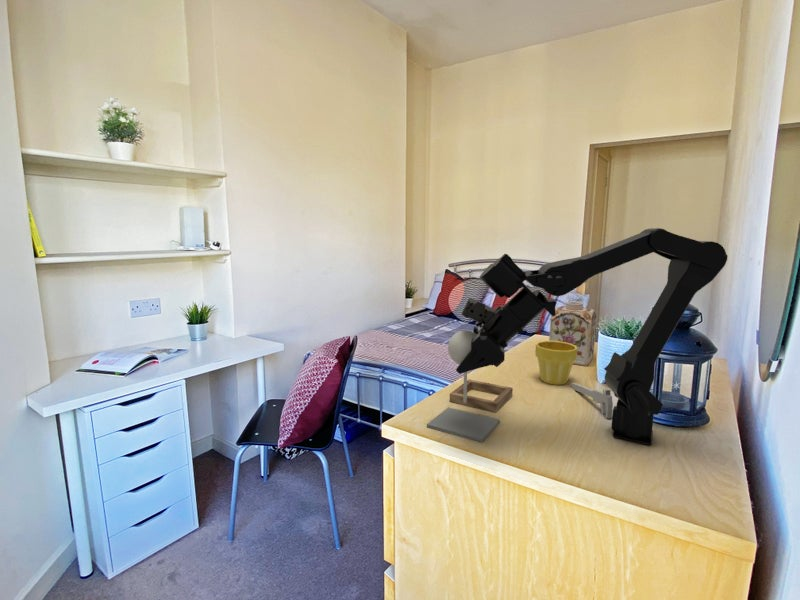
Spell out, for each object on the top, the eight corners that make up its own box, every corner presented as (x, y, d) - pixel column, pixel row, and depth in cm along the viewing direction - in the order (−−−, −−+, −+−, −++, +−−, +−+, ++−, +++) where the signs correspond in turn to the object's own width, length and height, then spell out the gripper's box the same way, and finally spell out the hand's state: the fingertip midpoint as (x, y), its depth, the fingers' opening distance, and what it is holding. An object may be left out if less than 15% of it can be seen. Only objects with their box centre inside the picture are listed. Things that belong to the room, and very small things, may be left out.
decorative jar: (594, 357, 134) (598, 301, 131) (588, 367, 124) (592, 306, 121) (555, 351, 140) (558, 298, 137) (546, 360, 130) (549, 303, 128)
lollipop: (476, 394, 90) (477, 326, 88) (487, 407, 83) (489, 334, 81) (443, 396, 89) (444, 327, 87) (453, 410, 82) (453, 336, 80)
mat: (499, 422, 88) (500, 419, 88) (482, 442, 80) (482, 439, 80) (448, 409, 95) (448, 407, 94) (426, 427, 86) (426, 424, 86)
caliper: (611, 420, 89) (614, 392, 88) (606, 420, 89) (609, 392, 88) (572, 386, 110) (574, 362, 109) (568, 386, 110) (569, 362, 109)
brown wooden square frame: (512, 395, 103) (512, 387, 102) (496, 412, 93) (496, 403, 93) (468, 386, 109) (468, 379, 108) (449, 401, 99) (449, 393, 99)
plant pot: (581, 380, 113) (583, 344, 112) (565, 390, 106) (567, 352, 104) (544, 371, 120) (545, 338, 119) (527, 381, 113) (528, 345, 111)
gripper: (487, 279, 91) (436, 328, 95) (486, 291, 73) (423, 350, 77) (524, 316, 90) (471, 363, 94) (532, 337, 72) (467, 394, 76)
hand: (458, 366), depth 86 cm, fingers closed on lollipop, 7 cm apart
